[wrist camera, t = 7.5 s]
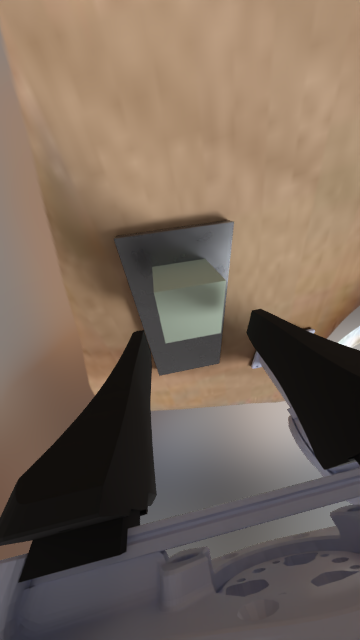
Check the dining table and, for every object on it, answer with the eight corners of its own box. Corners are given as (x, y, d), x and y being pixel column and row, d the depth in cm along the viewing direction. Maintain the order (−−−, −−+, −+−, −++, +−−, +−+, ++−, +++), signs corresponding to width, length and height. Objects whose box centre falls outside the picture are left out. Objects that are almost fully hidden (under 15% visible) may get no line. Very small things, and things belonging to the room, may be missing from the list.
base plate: (228, 220, 14) (252, 226, 11) (216, 357, 26) (226, 379, 23) (116, 236, 13) (105, 248, 10) (159, 369, 26) (160, 393, 22)
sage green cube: (205, 258, 14) (226, 280, 11) (204, 303, 18) (220, 333, 14) (152, 266, 14) (153, 292, 10) (161, 310, 17) (165, 343, 13)
